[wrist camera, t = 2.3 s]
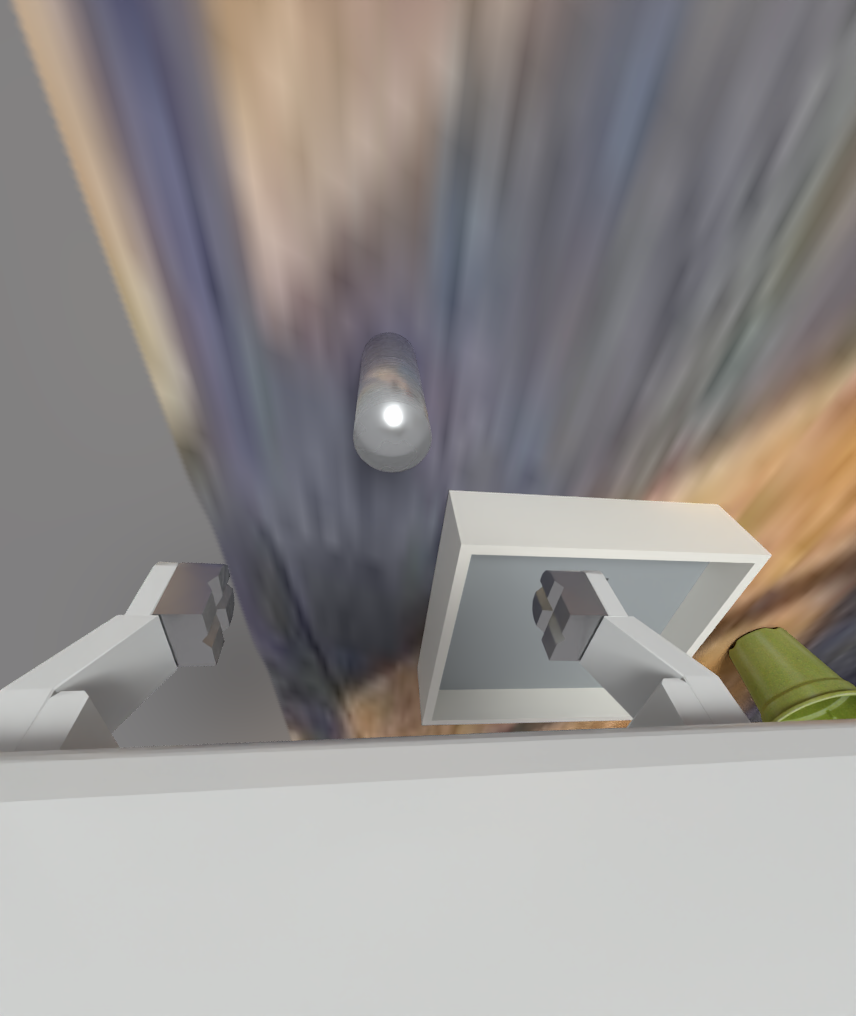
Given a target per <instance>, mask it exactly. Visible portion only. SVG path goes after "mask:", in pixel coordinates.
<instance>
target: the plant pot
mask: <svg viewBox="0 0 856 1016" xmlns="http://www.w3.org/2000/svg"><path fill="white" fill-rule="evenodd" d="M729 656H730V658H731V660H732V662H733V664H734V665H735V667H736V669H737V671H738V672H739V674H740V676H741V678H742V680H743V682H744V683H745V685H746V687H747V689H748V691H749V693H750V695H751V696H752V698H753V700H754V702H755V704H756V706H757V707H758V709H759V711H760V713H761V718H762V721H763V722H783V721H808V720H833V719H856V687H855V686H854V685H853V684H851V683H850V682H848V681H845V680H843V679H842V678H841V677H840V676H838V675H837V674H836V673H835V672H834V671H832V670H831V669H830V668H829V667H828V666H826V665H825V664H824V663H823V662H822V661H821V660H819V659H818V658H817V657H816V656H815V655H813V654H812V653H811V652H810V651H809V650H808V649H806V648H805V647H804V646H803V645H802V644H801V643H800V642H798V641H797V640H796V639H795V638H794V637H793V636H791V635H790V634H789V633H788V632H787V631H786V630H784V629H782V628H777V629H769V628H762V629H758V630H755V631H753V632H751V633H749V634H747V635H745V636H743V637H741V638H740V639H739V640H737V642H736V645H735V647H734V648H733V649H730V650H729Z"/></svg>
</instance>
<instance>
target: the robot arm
mask: <svg viewBox="0 0 856 1016" xmlns="http://www.w3.org/2000/svg"><path fill="white" fill-rule="evenodd" d="M229 577H230V573H229V569H228V566H227V565H225V564H205V563H172V562H159V563H157V564H156V565H154V566H153V568H152V569H151V571H150V573H149V575H148V576H147V578H146V580H145V581H144V583H143V585H142V586H141V588H140V590H139V592H138V593H137V595H136V597H135V598H134V600H133V602H132V603H131V605H130V607H129V608H128V610H127V612H126V613H125V615H117V616H115V617H114V618H112V619H111V620H109V621H107V622H106V623H104V624H103V625H101V626H100V627H98V628H97V629H95V630H94V631H92V632H90V633H89V634H87V635H86V636H84V637H83V638H81V639H79V640H78V641H76V642H75V643H73V644H72V645H70V646H68V647H67V648H65V649H64V650H62V651H61V652H59V653H58V654H56V655H54V656H53V657H51V658H50V659H48V660H47V661H45V662H44V663H42V664H40V665H39V666H37V667H36V668H34V669H33V670H31V671H29V672H28V673H26V674H25V675H23V676H22V677H20V678H19V679H17V680H15V681H14V682H12V683H11V684H9V685H8V686H6V687H5V688H3V689H2V690H0V1016H856V719H833V720H808V721H783V722H758V723H751V722H750V721H749V719H748V718H747V717H746V715H745V714H744V712H743V711H742V709H741V708H740V707H739V705H738V704H737V702H736V701H735V699H734V698H733V697H732V695H731V694H730V692H729V691H728V690H727V688H726V687H725V685H724V684H723V682H722V681H721V680H720V678H719V677H718V676H717V675H716V674H714V673H713V672H711V671H710V670H709V669H707V668H706V667H704V666H703V665H702V664H700V663H699V662H697V661H696V660H694V659H693V658H692V657H690V656H689V655H687V654H686V653H685V652H683V651H682V650H680V649H679V648H677V647H676V646H675V645H673V644H672V643H670V642H669V641H668V640H666V639H665V638H663V637H662V636H660V635H659V634H658V633H656V632H655V631H653V630H652V629H651V628H649V627H648V626H646V625H645V624H643V623H642V622H641V621H639V620H638V619H636V618H635V617H634V616H628V615H627V613H626V612H625V610H624V608H623V607H622V605H621V603H620V602H619V600H618V598H617V597H616V595H615V593H614V592H613V590H612V588H611V587H610V585H609V583H608V582H607V580H606V578H605V577H604V575H603V574H602V573H601V572H600V571H591V570H581V571H577V570H546V571H545V572H544V573H543V574H542V576H541V579H540V582H541V584H542V587H541V588H540V589H539V590H537V591H536V592H535V595H534V598H533V604H532V612H533V618H534V621H535V624H536V626H537V627H538V628H539V629H541V630H542V631H543V632H544V634H543V637H542V639H541V640H542V643H543V645H544V648H545V651H546V653H547V656H548V659H549V661H580V662H579V663H580V664H581V665H582V666H583V667H584V668H585V669H586V670H587V671H588V672H589V673H590V674H591V675H592V676H593V677H594V679H595V680H596V681H597V682H598V683H599V684H600V685H601V686H602V687H603V688H604V689H605V690H606V691H607V692H608V693H609V694H610V695H611V696H612V697H613V698H614V699H615V700H616V701H617V702H618V703H619V704H620V705H621V706H622V707H623V708H624V709H625V710H626V711H627V713H628V714H629V715H630V716H631V717H632V718H633V720H632V721H631V722H630V724H629V725H628V726H627V728H605V729H579V730H554V731H529V732H504V733H479V734H454V735H429V736H403V737H378V738H353V739H328V740H302V741H277V742H252V743H226V744H202V745H201V744H200V745H176V746H151V747H150V746H149V747H124V748H119V746H118V744H117V743H116V741H115V739H114V738H113V736H112V734H111V733H112V732H113V731H114V730H116V729H117V728H118V726H119V725H121V724H122V723H123V722H124V721H125V720H126V719H127V718H128V717H129V716H130V715H131V714H132V713H133V712H134V711H135V710H136V709H137V708H138V707H139V706H140V705H141V704H142V703H143V702H144V701H145V700H146V699H147V698H148V697H149V696H150V695H151V694H152V693H153V692H155V691H156V690H157V689H158V688H159V687H160V686H161V685H162V684H163V683H164V682H165V681H166V680H167V679H168V678H169V677H170V676H171V675H172V674H173V673H174V672H175V671H176V670H177V667H187V666H213V665H216V664H217V662H218V659H219V656H220V653H221V650H222V647H223V643H224V638H223V634H222V632H223V631H224V630H225V629H227V628H228V627H229V626H230V622H231V620H232V616H233V610H234V593H233V588H231V587H230V586H229V585H228V584H227V583H228V580H229Z"/></svg>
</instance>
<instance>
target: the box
mask: <svg viewBox="0 0 856 1016" xmlns="http://www.w3.org/2000/svg"><path fill="white" fill-rule="evenodd" d="M771 556H772V555H771V554H770V553H769V552H768V551H767V550H766V549H765V548H764V547H763V546H762V545H761V544H759V543H758V542H757V541H756V540H755V539H754V538H753V537H752V536H751V535H750V534H749V533H748V532H747V531H746V530H745V529H744V528H743V527H741V526H740V525H739V524H738V523H737V522H736V521H735V520H734V519H733V518H732V517H731V516H730V515H729V514H728V513H727V512H726V511H725V510H723V509H722V508H721V507H720V506H719V505H718V504H701V503H682V502H663V501H644V500H625V499H606V498H587V497H567V496H548V495H529V494H510V493H491V492H472V491H453V490H449V494H448V500H447V506H446V511H445V517H444V522H443V528H442V533H441V539H440V545H439V550H438V556H437V561H436V567H435V572H434V578H433V583H432V589H431V595H430V600H429V606H428V611H427V617H426V622H425V628H424V634H423V639H422V645H421V650H420V656H419V661H418V667H417V668H418V682H419V695H420V708H421V721H422V725H457V724H497V723H536V722H576V721H615V720H633V718H632V717H631V716H630V715H629V714H628V713H627V711H626V710H625V709H624V708H623V707H622V706H621V705H620V704H619V703H618V702H617V701H616V700H615V699H614V698H613V697H612V696H611V695H610V694H609V693H608V692H607V691H606V690H605V689H604V688H603V687H602V686H601V685H600V684H599V683H598V682H597V681H596V680H595V679H594V677H593V676H592V675H591V674H590V673H589V672H588V671H587V670H586V669H585V668H584V667H583V666H582V665H581V664H580V663H579V662H580V661H549V659H548V656H547V653H546V651H545V648H544V645H543V643H542V640H541V639H542V637H543V634H544V632H543V631H542V630H541V629H539V628H538V627H537V626H536V624H535V621H534V618H533V612H532V604H533V598H534V595H535V592H536V591H537V590H539V589H540V588H541V587H542V584H541V582H540V579H541V576H542V574H543V573H544V572H545V571H546V570H577V571H581V570H591V571H600V572H601V573H602V574H603V575H604V577H605V578H606V580H607V582H608V583H609V585H610V587H611V588H612V590H613V592H614V593H615V595H616V597H617V598H618V600H619V602H620V603H621V605H622V607H623V608H624V610H625V612H626V613H627V615H628V616H634V617H635V618H636V619H638V620H639V621H641V622H642V623H643V624H645V625H646V626H648V627H649V628H651V629H652V630H653V631H655V632H656V633H658V634H659V635H660V636H662V637H663V638H665V639H666V640H668V641H669V642H670V643H672V644H673V645H675V646H676V647H677V648H679V649H680V650H682V651H683V652H685V653H686V654H687V655H689V656H690V657H692V656H693V655H694V653H695V652H696V651H697V650H698V648H699V647H700V646H701V645H702V643H703V642H704V641H705V639H706V638H707V637H708V636H709V634H710V633H711V632H712V631H713V629H714V628H715V627H716V625H717V624H718V623H719V622H720V620H721V619H722V618H723V617H724V615H725V614H726V613H727V612H728V610H729V609H730V608H731V606H732V605H733V604H734V603H735V601H736V600H737V599H738V598H739V596H740V595H741V594H742V592H743V591H744V590H745V589H746V587H747V586H748V585H749V584H750V582H751V581H752V580H753V578H754V577H755V576H756V575H757V573H758V572H759V571H760V570H761V568H762V567H763V566H764V565H765V563H766V562H767V561H768V559H769V558H770V557H771Z"/></svg>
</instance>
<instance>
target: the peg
mask: <svg viewBox="0 0 856 1016" xmlns="http://www.w3.org/2000/svg"><path fill="white" fill-rule="evenodd" d="M431 438H432V436H431V429H430V424H429V419H428V414H427V409H426V404H425V400H424V395H423V390H422V385H421V380H420V375H419V370H418V365H417V360H416V355H415V352H414V349H413V347H412V345H411V344H410V343H409V342H408V340H406V339H405V338H404V337H402V336H400V335H398V334H395V333H382V334H379V335H377V336H375V337H373V338H372V339H371V340H370V341H369V342H368V343H367V344H366V346H365V348H364V351H363V354H362V363H361V372H360V380H359V389H358V398H357V407H356V416H355V425H354V434H353V441H354V446H355V448H356V451H357V453H358V454H359V456H360V457H361V458H362V460H363V461H364V462H366V463H367V464H368V465H370V466H371V467H373V468H375V469H378V470H380V471H385V472H400V471H405V470H407V469H410V468H412V467H414V466H415V465H417V464H418V463H419V462H421V461H422V460H423V458H424V457H425V456H426V454H427V453H428V451H429V448H430V445H431Z"/></svg>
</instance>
